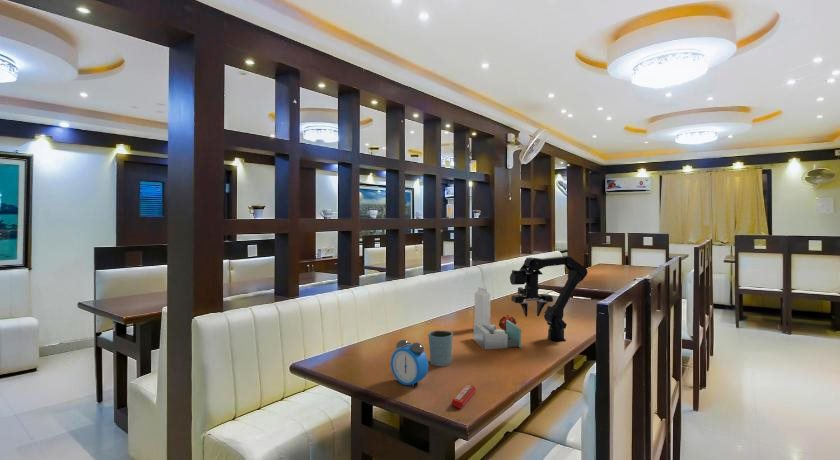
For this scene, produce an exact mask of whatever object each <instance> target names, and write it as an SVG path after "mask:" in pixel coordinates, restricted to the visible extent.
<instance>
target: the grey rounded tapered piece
mask: <svg viewBox="0 0 840 460" xmlns="http://www.w3.org/2000/svg"><path fill="white" fill-rule="evenodd" d="M505 332H506V331H504V330H502V328H499V329H498V328H496V330H494V334H505Z"/></svg>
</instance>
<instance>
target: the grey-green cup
mask: <svg viewBox="0 0 840 460" xmlns="http://www.w3.org/2000/svg"><path fill="white" fill-rule="evenodd" d="M453 336H454V333H453V332H451V331H448V330H433V331H430V332H428V336H427V337H428V345H429V362H430V364H431V365H433V366H435V367H448V366H450V365H451V364H452V353H453V351H452V350H453Z"/></svg>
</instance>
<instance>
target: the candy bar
mask: <svg viewBox="0 0 840 460" xmlns="http://www.w3.org/2000/svg"><path fill="white" fill-rule="evenodd" d="M476 389H477V388H476V386H474V385H472V384H469V383H467V384H466V385H464V386H463V387H462V389H461V390H460V391H458V393H456V395H455V396H454V397H453V399H452V400H451V405H452V406H453V407H454V408H455V407H456V408H457V409H460V410H461V409H463V407H464V406H465V405H466V404H467V403H468V402H469V400H470V399H471V397H473V396H474V394H475V393H476Z"/></svg>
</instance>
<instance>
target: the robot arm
mask: <svg viewBox="0 0 840 460" xmlns="http://www.w3.org/2000/svg"><path fill="white" fill-rule="evenodd" d="M562 265H564V266H565V268H566V269H567V270H568V273H567V280H566V282H565V284H564V286H563V287H562V289H561V292H560V293H559V295H558V297H557V299H556V300H555V302H554V298H553V295H550V294H548V293H543V294H540V295H539V290H540V286H539V276H542V275H544V274H543V272H542V271H541V269H544V268H546V267H554V266H562ZM588 273H589V272H588V269H587V267H586V266H584V265H582V264H580V263H579V262H577V260H575V259H574V258H573V257H572V256H570V255H563V256H555V257H545V258H538V257H532V256H531V257H526V258H525V259H524V263H523V264H522V266H521V267H520V269H519V270H514V269H512V270H511V273H510V274H509V275H510V276H509V282H510V284H511V285H514V286H515V285H519V286H520V285H524V288H523V286H521V287H517V294H513V295H512V296H511V297H510V298H511V299H510V300H511V302H513V303H514V304H520V306H521V308H522V311H523V313H524V314H523V315H524V317H526V318H527V317H528V306H529V305H528V303H527V302H528V301H529V302H530V301H536V316H537V317H540V315H541V312H542V311H543V308H544V307H545V305H547V304H548V303H553V302H554V304H553V305H552V306H550V305H548V306H547V308H546V310H545V311H544V312H543V314H544V315H543V317H544V320H545V322H546V323H547V325H548V331H547V338H548V339H549V340H551V341H552V342H562V341H563V342H564V341H566V339H565V329H567V323H566V322H565V321H564V320H563V317H564V310H565V307H566V306H567V304H568V302H569V300H570V298H571V297H572V295H573V293H574V290H575V289H576V288H577V285H578V284H580V283H581V282H582V281H584V279H585V278H586V277H587V275H588Z"/></svg>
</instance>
